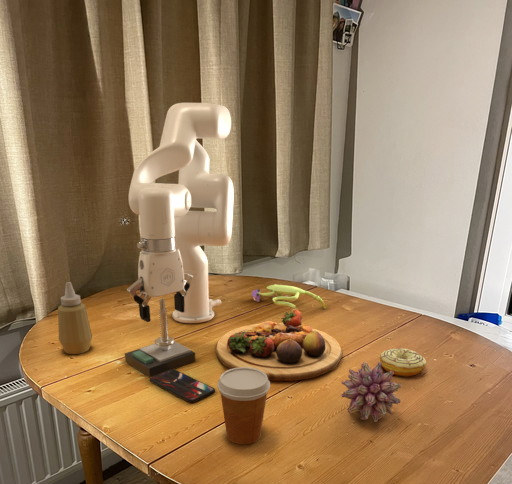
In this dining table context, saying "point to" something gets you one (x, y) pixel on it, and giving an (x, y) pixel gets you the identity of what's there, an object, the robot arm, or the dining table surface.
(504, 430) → the dining table surface
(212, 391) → the smartphone
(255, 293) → the figurine
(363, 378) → the flower
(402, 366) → the decorated donut
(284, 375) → the wooden plate
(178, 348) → the scale
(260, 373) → the disposable coffee cup
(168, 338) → the screw
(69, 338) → the squeeze bottle
